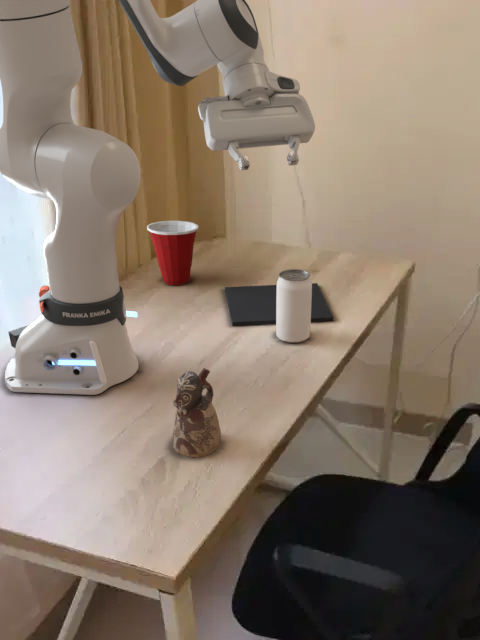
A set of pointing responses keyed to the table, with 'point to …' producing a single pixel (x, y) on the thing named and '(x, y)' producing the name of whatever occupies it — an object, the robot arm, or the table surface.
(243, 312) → the desk mat
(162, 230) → the plastic cup
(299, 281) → the can
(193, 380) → the figurine
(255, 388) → the table surface
